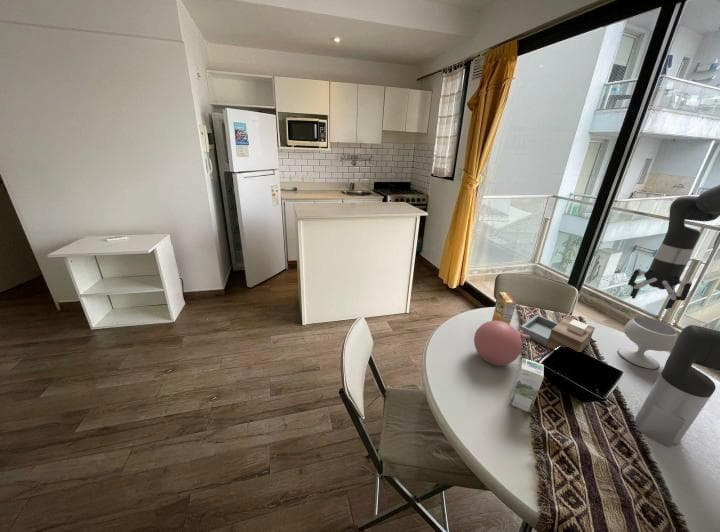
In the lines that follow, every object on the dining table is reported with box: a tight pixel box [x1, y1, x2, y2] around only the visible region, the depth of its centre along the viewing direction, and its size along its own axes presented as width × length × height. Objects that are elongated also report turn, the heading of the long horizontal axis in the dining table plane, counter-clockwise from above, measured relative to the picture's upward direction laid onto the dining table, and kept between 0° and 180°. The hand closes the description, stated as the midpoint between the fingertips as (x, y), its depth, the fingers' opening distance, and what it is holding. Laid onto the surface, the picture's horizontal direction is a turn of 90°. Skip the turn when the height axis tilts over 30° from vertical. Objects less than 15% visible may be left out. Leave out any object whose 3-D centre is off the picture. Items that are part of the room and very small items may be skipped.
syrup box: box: [509, 357, 545, 414], centre depth 86 cm, size 6×6×14 cm
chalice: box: [617, 316, 679, 370], centre depth 108 cm, size 14×14×15 cm
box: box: [519, 314, 559, 347], centre depth 123 cm, size 16×10×4 cm, turn 129°
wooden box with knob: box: [545, 316, 596, 353], centre depth 115 cm, size 16×10×8 cm, turn 129°
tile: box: [567, 318, 589, 335], centre depth 112 cm, size 5×5×2 cm
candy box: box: [491, 291, 517, 325], centre depth 123 cm, size 9×4×15 cm, turn 175°
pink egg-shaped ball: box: [473, 320, 530, 366], centre depth 104 cm, size 15×20×15 cm
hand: (649, 303), depth 100 cm, fingers open, 8 cm apart
